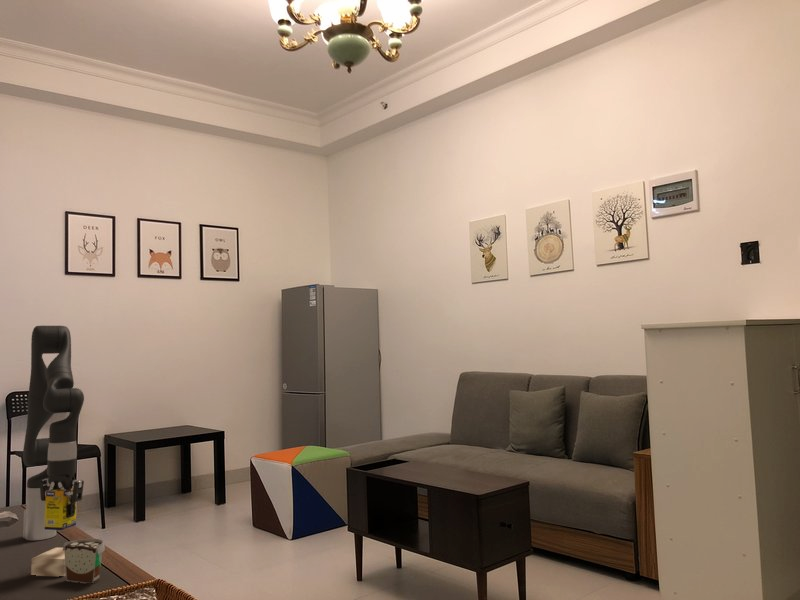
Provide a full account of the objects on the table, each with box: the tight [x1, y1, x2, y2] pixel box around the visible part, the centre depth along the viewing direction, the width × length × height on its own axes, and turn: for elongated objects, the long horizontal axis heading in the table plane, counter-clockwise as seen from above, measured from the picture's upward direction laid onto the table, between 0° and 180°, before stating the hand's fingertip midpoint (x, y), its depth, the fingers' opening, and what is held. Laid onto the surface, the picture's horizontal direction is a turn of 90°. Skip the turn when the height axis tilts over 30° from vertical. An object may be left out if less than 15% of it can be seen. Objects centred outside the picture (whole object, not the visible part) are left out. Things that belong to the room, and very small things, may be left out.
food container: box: [62, 538, 106, 584], centre depth 174 cm, size 12×6×10 cm, turn 71°
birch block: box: [30, 547, 66, 577], centre depth 181 cm, size 10×10×5 cm
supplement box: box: [45, 489, 78, 531], centre depth 183 cm, size 6×6×11 cm
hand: (60, 516), depth 183 cm, fingers closed on supplement box, 6 cm apart
